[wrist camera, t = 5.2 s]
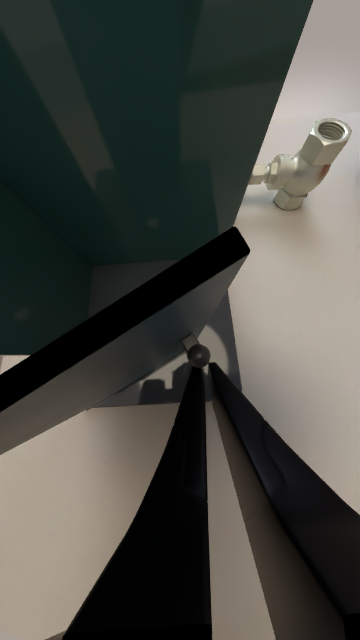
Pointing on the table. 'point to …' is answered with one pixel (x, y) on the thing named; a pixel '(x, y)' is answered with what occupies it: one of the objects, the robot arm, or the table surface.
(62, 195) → the shower stall
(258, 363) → the table surface
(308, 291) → the table surface
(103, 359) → the shower door
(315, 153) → the valve
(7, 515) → the table surface
